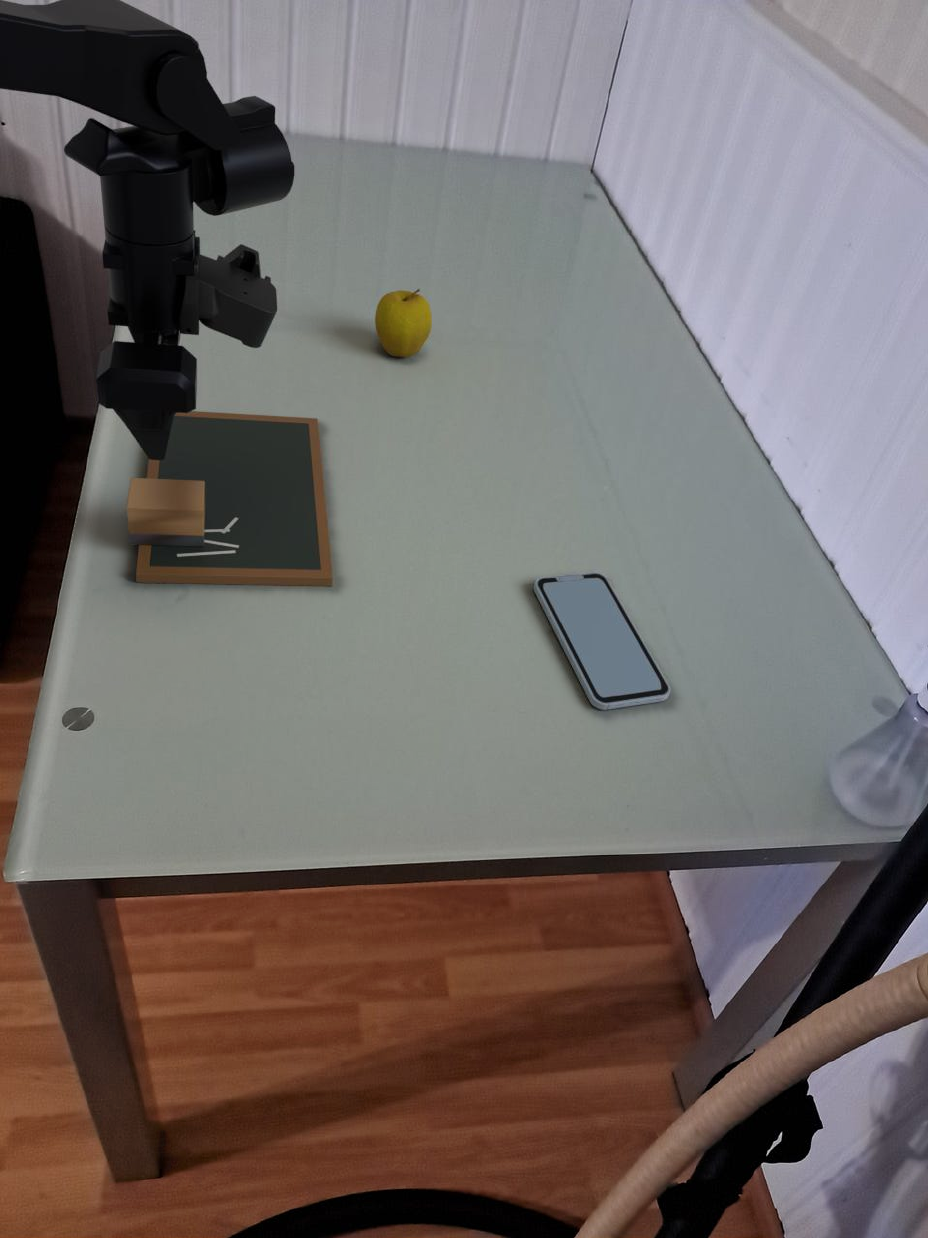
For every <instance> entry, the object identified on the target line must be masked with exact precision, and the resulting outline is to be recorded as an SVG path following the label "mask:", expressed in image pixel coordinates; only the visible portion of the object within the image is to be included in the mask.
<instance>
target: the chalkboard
mask: <svg viewBox="0 0 928 1238" xmlns="http://www.w3.org/2000/svg"><path fill="white" fill-rule="evenodd" d="M321 450H322V449H321V439H320V429H319V420H318V418H316V417H315V418H314V417H299V416H285V415H284V416H281V415H265V414H250V413H233V412H230V413H229V412H217V411H216V412H214V411H213V412H212V411H197V410H196V411H195V410H192V411H190V412H188V413H176V414H175V415H174V418H173V422H172V426H171V431H170V436H169V440H168V445H167V450H166V454H165V459H164V460H150V459H149V458H148V461H147V469H146V478H147V479H171V480H195V481H205V534H204V546H203V547H201V546H162V545H138V552H137V560H136V568H135V569H136V570H135V580H136V583H137V584H138V583H139V584H140V583H142V584H143V583H144V584H192V585H193V584H197V585H199V584H201V585H248V586H255V585H257V586H305V587H306V586H308V587H309V586H310V587H311V586H313V587H318V586H319V587H332V586H333V580H334V576H333V567H332V566H333V565H332V555H331V545H330V544H331V543H330V533H329V523H328V513H327V501H326V492H325V482H324V481H325V480H324V471H323V460H322V451H321Z"/></svg>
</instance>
